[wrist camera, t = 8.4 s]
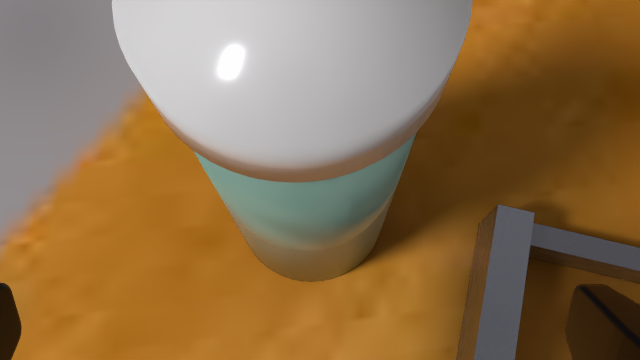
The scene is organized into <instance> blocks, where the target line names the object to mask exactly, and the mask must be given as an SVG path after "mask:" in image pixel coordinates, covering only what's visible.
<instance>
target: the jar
mask: <svg viewBox="0 0 640 360" xmlns="http://www.w3.org/2000/svg"><path fill="white" fill-rule="evenodd" d="M471 8H472V0H112V10H113V20H114V27H115V30H116V34H117V38H118V41H119V45H120V47H121V49H122V52H123V54H124V56H125V58H126V61H127V63H128V65H129V66H130V68H131V69H132V71H133V73H134V74H135V76H136V77H137V79H138V81H139V82H140V84H141V85H142V87H143V89H144V90H145V92H146V93H147V95H148V97H149V98H150V100H151V101H152V103H153V105H154V106H155V108H156V109H157V111H158V112H159V114H160V115H161V117H162V118H163V120H164V121H165V123H166V124H167V126H168V127H169V128H170V129H171V130H172V131H173V132H174V133H175V134H176V136H177V137H178V138H179V139H180V140H181V141H183V142H184V143H185V144H186V145H187V146H189V147H190V148H191V149H192V150H193V151H194V152H195V154H196V156H197V158H198V159H199V161H200V163H201V165H202V166H203V168H204V170H205V171H206V173H207V175H208V177H209V178H210V180H211V182H212V184H213V185H214V187H215V189H216V190H217V192H218V194H219V196H220V197H221V199H222V201H223V203H224V204H225V206H226V208H227V209H228V211H229V213H230V215H231V216H232V218H233V220H234V222H235V223H236V225H237V227H238V228H239V230H240V232H241V234H242V235H243V237H244V239H245V241H246V242H247V244H248V246H249V247H250V249H251V250H252V252H253V253H254V255H255V256H256V257H257V258H258V259H259V260H260V261H261V262H262V263H263V264H264V265H265V266H266V267H268V268H269V269H271V270H272V271H274V272H276V273H278V274H280V275H282V276H284V277H287V278H290V279H293V280H299V281H309V282H314V281H324V280H328V279H332V278H335V277H338V276H341V275H343V274H345V273H347V272H349V271H350V270H352V269H353V268H354V267H356V266H357V265H358V264H359V263H361V262H362V261H363V260H364V259H365V258H366V256H367V255H368V254H369V253H370V251H371V250H372V248H373V247H374V245H375V243H376V241H377V239H378V237H379V234H380V231H381V229H382V226H383V223H384V220H385V218H386V215H387V212H388V210H389V207H390V204H391V201H392V199H393V196H394V193H395V190H396V188H397V185H398V182H399V179H400V177H401V174H402V171H403V168H404V166H405V163H406V160H407V158H408V155H409V152H410V149H411V147H412V144H413V141H414V138H415V136H416V133H417V131H418V130H419V129H420V127H421V126H422V125H423V124H424V123H425V122H426V121H427V119H428V118H429V116H430V115H431V113H432V112H433V110H434V108H435V107H436V105H437V104H438V102H439V100H440V97H441V95H442V93H443V91H444V89H445V86H446V84H447V81H448V79H449V76H450V74H451V72H452V69H453V67H454V64H455V62H456V59H457V57H458V54H459V52H460V49H461V47H462V44H463V42H464V40H465V36H466V33H467V29H468V25H469V22H470V17H471Z"/></svg>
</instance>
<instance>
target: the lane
mask: <svg viewBox="0 0 640 360" xmlns="http://www.w3.org/2000/svg"><path fill="white" fill-rule="evenodd" d="M534 214H535V213H533V212H529V211H525V210H520V209H516V208H512V207H508V206H503V205H499V204H498V205H497V206H496V207H495V208H494V209H493V210H492V211H491V212H490V213H489V214H488V215H487V216H486V217H485V218H484V219H483V220H482V221H481V222H480V223H479V228H478V234H477V239H476V245H475V251H474V257H473V263H472V269H471V275H470V281H469V287H468V293H467V299H466V305H465V311H464V317H463V323H462V329H461V335H460V341H459V347H458V353H457V359H456V360H515V355H516V347H517V340H518V332H519V325H520V318H521V310H522V303H523V295H524V288H525V281H526V273H527V266H528V258H529V257H531V258H535V259H539V260H543V261H547V262H552V263H556V264H560V265H564V266H568V267H572V268H576V269H581V270H585V271H589V272H593V273H597V274H601V275H605V276H610V277H614V278H618V279H622V280H626V281H630V282H634V283H639V284H640V248H638V247H634V246H629V245H625V244H621V243H617V242H612V241H608V240H604V239H600V238H595V237H591V236H587V235H583V234H579V233H574V232H570V231H566V230H562V229H557V228H553V227H549V226H545V225H540V224H536V223H533V221H534Z"/></svg>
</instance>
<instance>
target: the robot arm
mask: <svg viewBox="0 0 640 360" xmlns="http://www.w3.org/2000/svg"><path fill="white" fill-rule="evenodd" d="M565 333H566V340H567V343H568V346H569V349H570V352H571V356H572V359H573V360H640V305H639V304H638V303H636V302H634V301H632V300H631V299H629V298H627V297H626V296H624V295H622V294H620V293H619V292H617V291H615V290H614V289H612V288H610V287H608V286H606V285H603V284H580V285H578V286H577V287H576V288H575V290H574V292H573V296H572V300H571V304H570V309H569V313H568V317H567V321H566V327H565ZM20 336H21V321H20V318H19V314H18V311H17V308H16V304H15V301H14V298H13V294H12V291H11V289H10V287H9V286H8V285H7V284H5V283H0V360H11V359H12V356H13V354H14V352H15V349H16V347H17V344H18V342H19V339H20Z"/></svg>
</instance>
